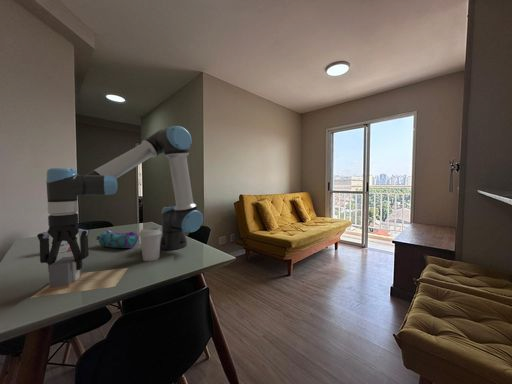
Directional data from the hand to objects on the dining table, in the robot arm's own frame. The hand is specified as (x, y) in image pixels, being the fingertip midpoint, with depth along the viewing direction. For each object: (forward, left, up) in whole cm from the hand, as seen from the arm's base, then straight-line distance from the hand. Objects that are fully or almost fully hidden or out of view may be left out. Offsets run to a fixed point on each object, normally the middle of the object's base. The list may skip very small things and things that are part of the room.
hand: (66, 280), depth 71 cm
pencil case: (-2, -47, -3) cm, 47 cm away
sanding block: (0, 0, -1) cm, 1 cm away
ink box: (+22, -48, -3) cm, 53 cm away
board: (-6, 0, -3) cm, 6 cm away
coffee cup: (-24, -17, -3) cm, 29 cm away
